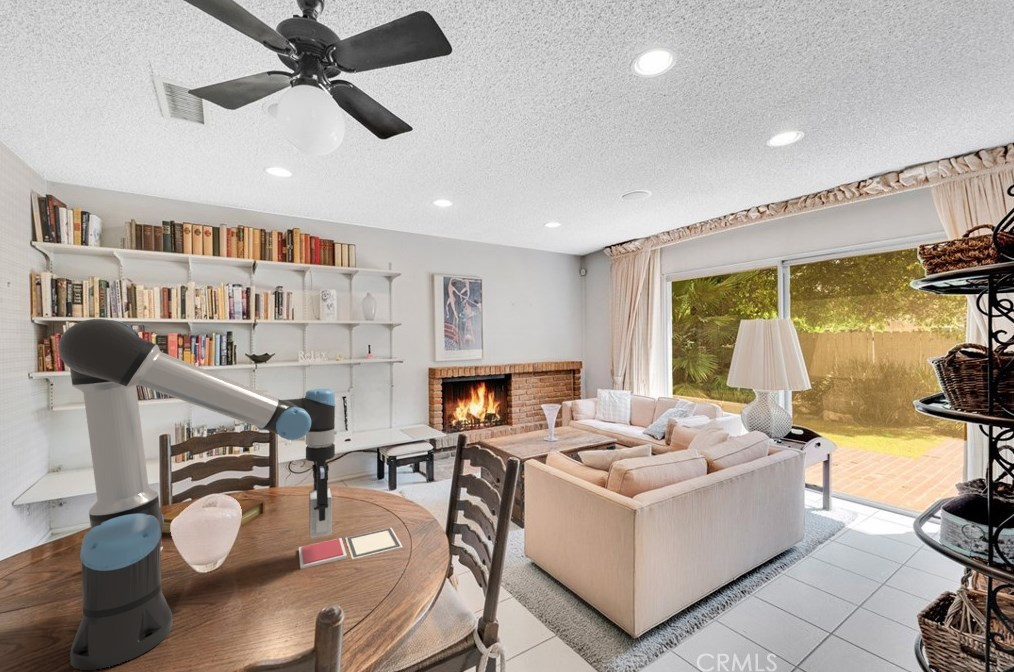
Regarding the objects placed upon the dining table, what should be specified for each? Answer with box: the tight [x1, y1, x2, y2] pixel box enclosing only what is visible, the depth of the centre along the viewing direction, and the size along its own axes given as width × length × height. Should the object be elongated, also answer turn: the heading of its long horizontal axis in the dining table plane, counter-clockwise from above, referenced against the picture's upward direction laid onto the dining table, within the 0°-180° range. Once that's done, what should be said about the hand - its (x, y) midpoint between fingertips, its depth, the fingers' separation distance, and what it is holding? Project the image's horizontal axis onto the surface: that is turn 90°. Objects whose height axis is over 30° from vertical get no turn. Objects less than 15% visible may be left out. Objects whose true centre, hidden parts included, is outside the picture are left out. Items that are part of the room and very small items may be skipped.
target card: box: [344, 527, 404, 560], centre depth 128 cm, size 14×14×1 cm
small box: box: [308, 487, 333, 539], centre depth 121 cm, size 8×6×10 cm
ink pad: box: [298, 537, 348, 570], centre depth 121 cm, size 12×12×2 cm
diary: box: [162, 497, 266, 534], centre depth 142 cm, size 23×19×6 cm
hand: (320, 524), depth 121 cm, fingers closed on small box, 8 cm apart
